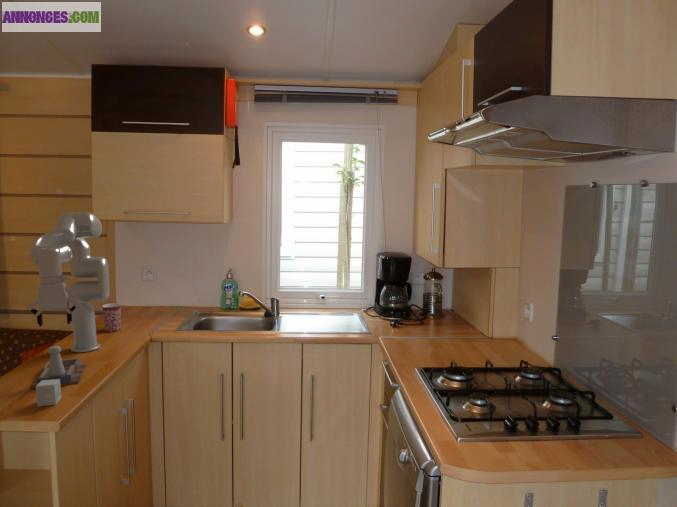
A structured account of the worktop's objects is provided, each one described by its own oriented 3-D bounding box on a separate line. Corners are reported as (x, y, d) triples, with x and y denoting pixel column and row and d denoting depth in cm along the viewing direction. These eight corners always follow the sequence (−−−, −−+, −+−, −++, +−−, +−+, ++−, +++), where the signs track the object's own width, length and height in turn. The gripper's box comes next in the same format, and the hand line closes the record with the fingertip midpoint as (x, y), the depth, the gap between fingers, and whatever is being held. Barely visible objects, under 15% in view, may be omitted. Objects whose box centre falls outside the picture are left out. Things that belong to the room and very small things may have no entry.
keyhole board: (43, 369, 223) (43, 367, 223) (85, 365, 228) (85, 363, 228) (31, 388, 203) (31, 386, 202) (78, 383, 208) (78, 380, 207)
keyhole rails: (48, 366, 224) (48, 361, 224) (80, 363, 228) (80, 357, 227) (37, 385, 203) (36, 378, 203) (72, 381, 207) (72, 375, 206)
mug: (119, 332, 279) (117, 306, 277) (101, 333, 279) (99, 307, 277) (127, 326, 292) (125, 301, 290) (110, 326, 291) (108, 301, 289)
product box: (62, 398, 193) (60, 378, 192) (56, 405, 187) (54, 384, 186) (43, 399, 192) (41, 379, 191) (36, 406, 186) (35, 386, 185)
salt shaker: (61, 375, 213) (59, 343, 211) (68, 378, 209) (65, 346, 208) (46, 379, 209) (43, 347, 207) (52, 383, 205) (49, 349, 203)
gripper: (78, 277, 211) (81, 319, 214) (28, 280, 206) (32, 324, 209) (75, 280, 204) (78, 324, 207) (23, 283, 199) (27, 329, 201)
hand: (55, 324), depth 208 cm, fingers open, 9 cm apart
